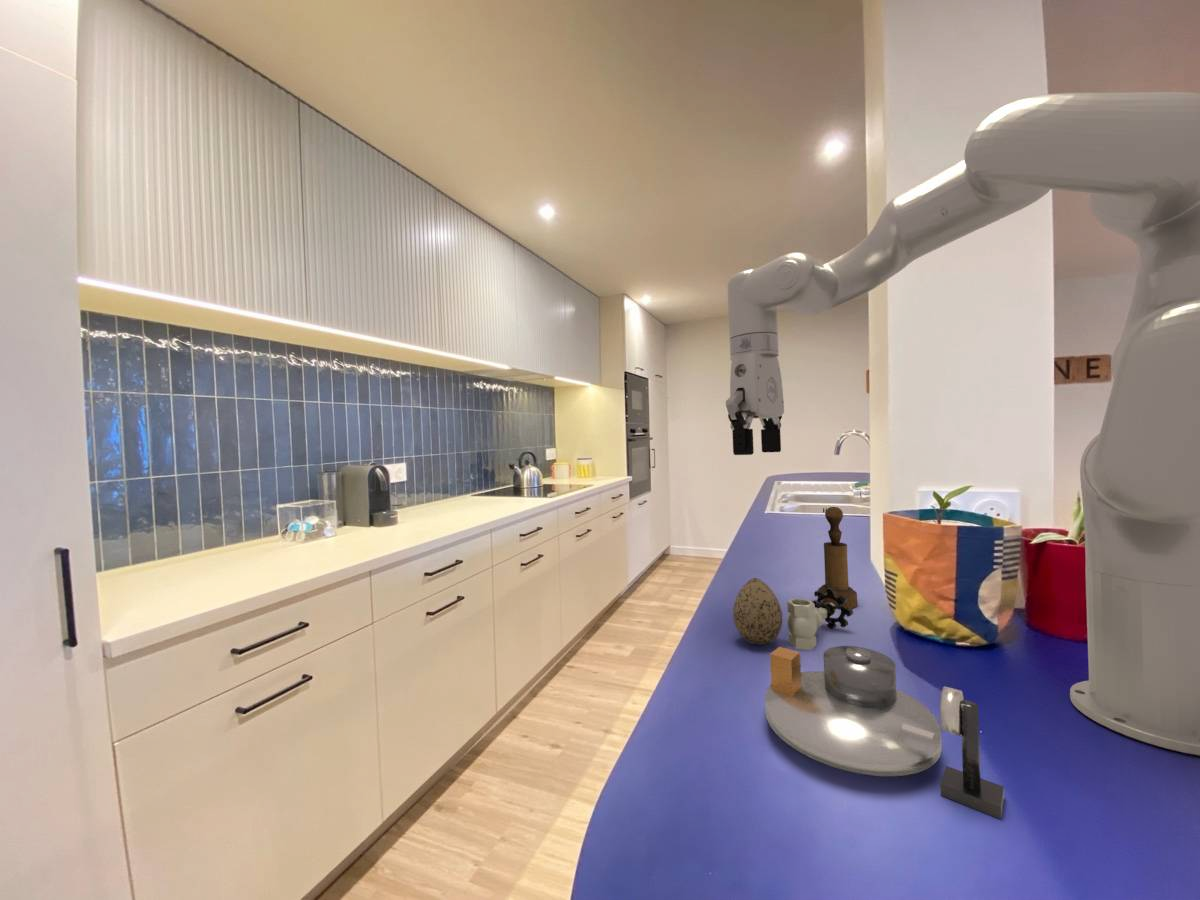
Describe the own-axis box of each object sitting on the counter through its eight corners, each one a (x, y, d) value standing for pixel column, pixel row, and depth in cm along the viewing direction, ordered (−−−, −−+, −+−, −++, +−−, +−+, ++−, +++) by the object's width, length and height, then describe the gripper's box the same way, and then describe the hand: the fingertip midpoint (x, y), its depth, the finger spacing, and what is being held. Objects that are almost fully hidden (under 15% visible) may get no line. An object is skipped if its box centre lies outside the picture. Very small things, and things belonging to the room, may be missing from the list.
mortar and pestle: (858, 600, 89) (855, 505, 89) (856, 611, 84) (852, 510, 84) (820, 595, 93) (816, 504, 93) (815, 606, 87) (811, 508, 87)
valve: (817, 656, 68) (854, 633, 75) (815, 611, 68) (852, 591, 75) (774, 643, 73) (813, 622, 80) (773, 600, 73) (811, 583, 80)
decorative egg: (724, 640, 74) (721, 577, 74) (758, 630, 77) (756, 569, 77) (758, 657, 68) (755, 588, 68) (794, 646, 71) (791, 580, 71)
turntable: (954, 716, 49) (952, 664, 49) (922, 804, 38) (919, 737, 38) (799, 670, 61) (798, 627, 61) (738, 727, 49) (736, 675, 49)
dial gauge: (1004, 796, 40) (1001, 694, 40) (1000, 821, 38) (997, 712, 38) (947, 774, 43) (943, 679, 43) (940, 797, 41) (936, 695, 41)
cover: (903, 688, 53) (902, 650, 52) (887, 716, 48) (885, 673, 47) (836, 669, 57) (835, 634, 57) (815, 692, 52) (813, 654, 52)
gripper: (749, 338, 69) (754, 455, 69) (798, 351, 81) (802, 450, 81) (705, 347, 74) (709, 456, 74) (757, 358, 86) (760, 451, 86)
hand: (758, 453), depth 78 cm, fingers open, 9 cm apart
